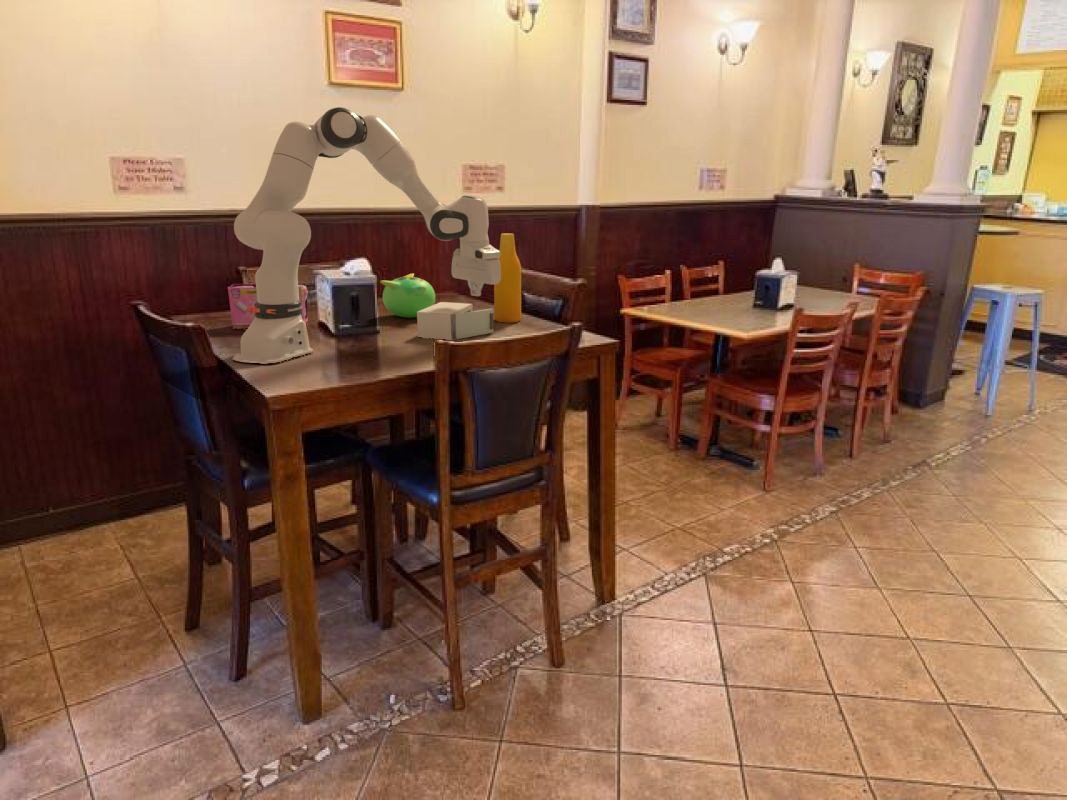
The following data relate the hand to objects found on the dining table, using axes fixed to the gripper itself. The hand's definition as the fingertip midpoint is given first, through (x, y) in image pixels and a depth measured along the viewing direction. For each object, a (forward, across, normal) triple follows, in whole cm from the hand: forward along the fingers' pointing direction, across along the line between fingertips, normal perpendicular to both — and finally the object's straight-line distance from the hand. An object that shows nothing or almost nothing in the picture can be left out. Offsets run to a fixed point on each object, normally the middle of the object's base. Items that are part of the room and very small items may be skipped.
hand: (475, 295), depth 234 cm
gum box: (+12, -52, -44) cm, 69 cm away
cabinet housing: (+12, -6, -7) cm, 15 cm away
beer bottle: (+12, -8, +20) cm, 25 cm away
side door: (+12, +4, -4) cm, 13 cm away
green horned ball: (+12, -35, -2) cm, 37 cm away
